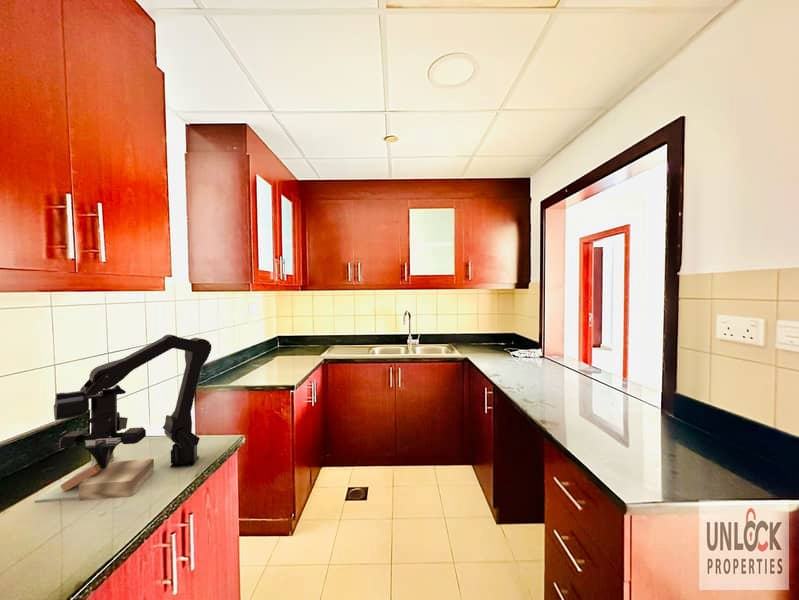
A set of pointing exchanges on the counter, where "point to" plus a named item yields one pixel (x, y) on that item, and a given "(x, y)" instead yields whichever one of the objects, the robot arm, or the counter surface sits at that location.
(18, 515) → the counter surface
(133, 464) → the block
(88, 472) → the terracotta tile
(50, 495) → the sage mat
